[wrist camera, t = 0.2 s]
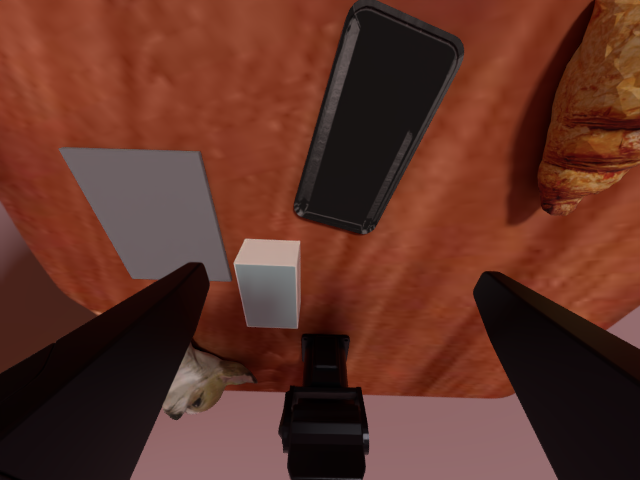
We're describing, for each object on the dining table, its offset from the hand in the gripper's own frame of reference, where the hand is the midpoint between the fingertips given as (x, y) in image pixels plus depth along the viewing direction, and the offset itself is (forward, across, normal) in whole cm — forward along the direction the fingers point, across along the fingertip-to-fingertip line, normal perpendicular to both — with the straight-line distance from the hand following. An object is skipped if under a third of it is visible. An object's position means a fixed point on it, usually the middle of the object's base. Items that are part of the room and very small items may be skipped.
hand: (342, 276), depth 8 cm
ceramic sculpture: (+15, +18, +30) cm, 38 cm away
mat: (+14, +16, +7) cm, 22 cm away
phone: (+15, -2, -1) cm, 15 cm away
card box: (+14, +6, +13) cm, 20 cm away
